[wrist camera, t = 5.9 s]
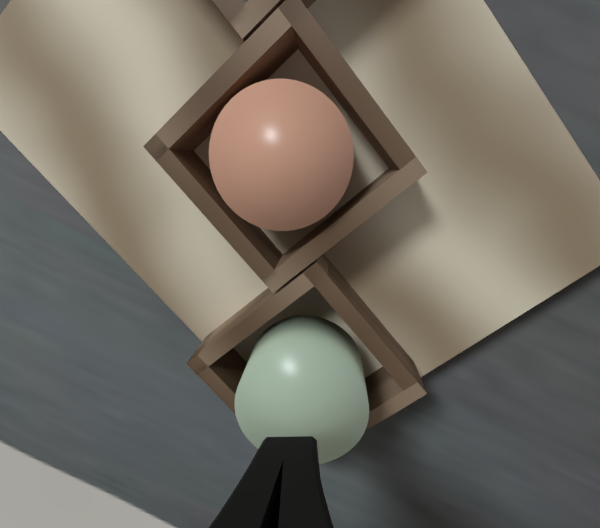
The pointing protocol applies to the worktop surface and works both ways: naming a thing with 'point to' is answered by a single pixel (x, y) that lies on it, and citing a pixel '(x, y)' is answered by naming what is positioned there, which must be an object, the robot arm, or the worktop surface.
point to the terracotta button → (281, 154)
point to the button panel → (361, 189)
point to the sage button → (304, 386)
